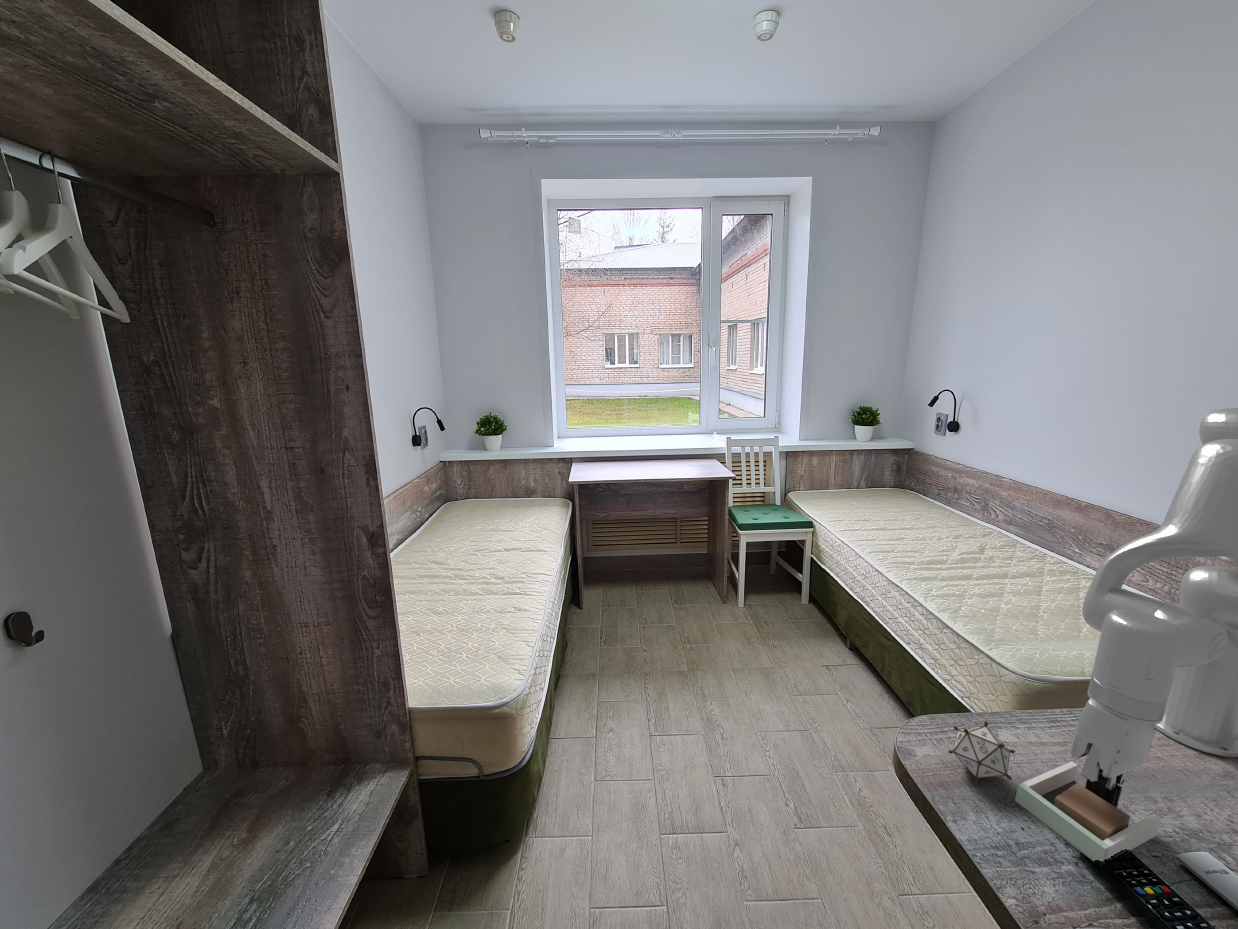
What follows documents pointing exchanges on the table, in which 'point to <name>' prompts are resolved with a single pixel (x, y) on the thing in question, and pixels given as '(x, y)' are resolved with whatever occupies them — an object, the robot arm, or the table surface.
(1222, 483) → the robot arm
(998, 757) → the game die
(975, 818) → the table surface
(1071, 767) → the walled bay
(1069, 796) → the walnut block
